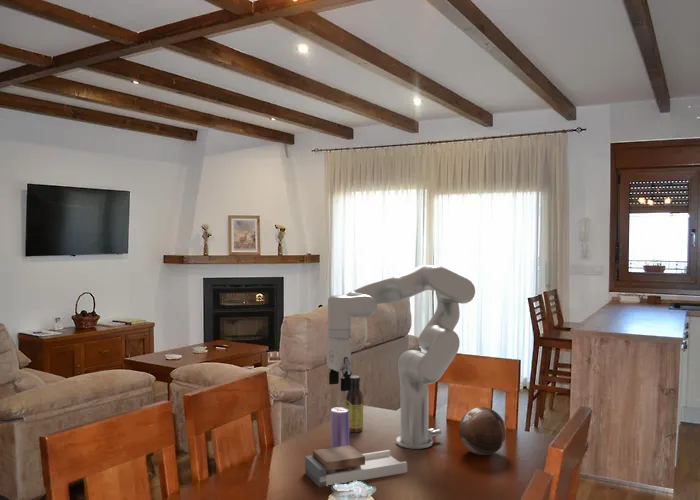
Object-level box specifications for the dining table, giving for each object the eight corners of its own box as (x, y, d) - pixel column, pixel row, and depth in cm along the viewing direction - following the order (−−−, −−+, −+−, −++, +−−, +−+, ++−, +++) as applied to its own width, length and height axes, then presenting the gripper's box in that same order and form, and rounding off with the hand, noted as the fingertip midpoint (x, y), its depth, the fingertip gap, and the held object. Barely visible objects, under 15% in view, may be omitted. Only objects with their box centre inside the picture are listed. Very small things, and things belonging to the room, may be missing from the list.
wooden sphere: (449, 452, 205) (449, 406, 204) (480, 443, 214) (480, 399, 214) (485, 465, 193) (485, 417, 193) (516, 455, 202) (516, 409, 202)
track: (388, 459, 199) (388, 443, 199) (407, 472, 188) (407, 455, 188) (305, 472, 187) (305, 456, 187) (319, 487, 176) (319, 470, 176)
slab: (349, 460, 193) (349, 444, 193) (364, 472, 183) (364, 456, 182) (313, 466, 188) (313, 450, 188) (326, 479, 178) (326, 462, 178)
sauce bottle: (347, 427, 232) (347, 374, 231) (364, 428, 231) (364, 374, 230) (344, 433, 225) (344, 378, 225) (361, 433, 224) (361, 378, 224)
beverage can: (347, 459, 198) (347, 412, 198) (328, 458, 199) (328, 411, 199) (350, 453, 204) (350, 407, 204) (333, 452, 205) (332, 406, 205)
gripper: (318, 330, 207) (319, 382, 208) (339, 338, 191) (339, 394, 192) (339, 329, 210) (340, 380, 211) (361, 337, 194) (361, 392, 195)
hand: (339, 387), depth 201 cm, fingers open, 9 cm apart
